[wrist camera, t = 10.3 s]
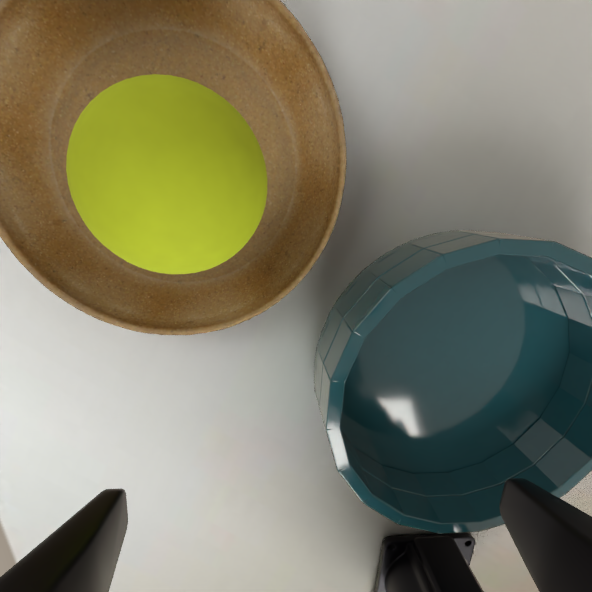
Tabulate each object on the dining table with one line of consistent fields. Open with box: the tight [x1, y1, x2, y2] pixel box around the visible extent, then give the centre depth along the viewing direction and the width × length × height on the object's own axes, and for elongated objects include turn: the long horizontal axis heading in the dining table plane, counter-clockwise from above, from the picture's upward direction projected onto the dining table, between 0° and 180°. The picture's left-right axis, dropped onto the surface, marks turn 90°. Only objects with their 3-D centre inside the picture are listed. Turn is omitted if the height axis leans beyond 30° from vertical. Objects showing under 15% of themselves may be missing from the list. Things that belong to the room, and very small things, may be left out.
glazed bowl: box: [314, 230, 592, 534], centre depth 19 cm, size 16×16×4 cm
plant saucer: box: [0, 0, 346, 335], centre depth 15 cm, size 15×15×3 cm
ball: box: [66, 74, 267, 274], centre depth 12 cm, size 6×6×6 cm
